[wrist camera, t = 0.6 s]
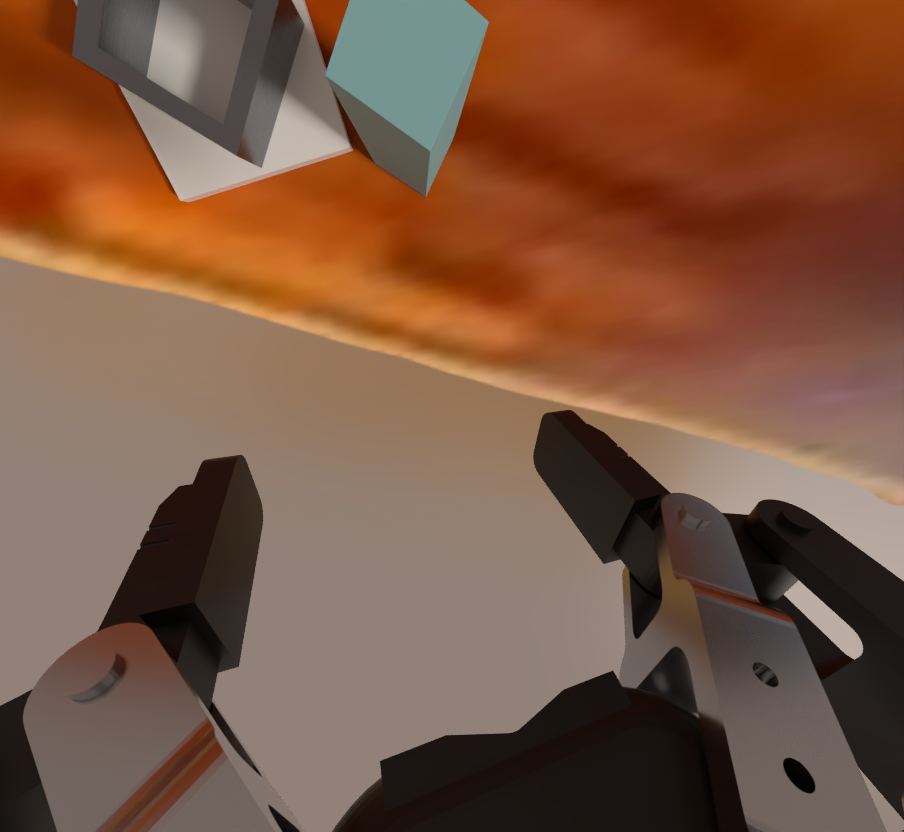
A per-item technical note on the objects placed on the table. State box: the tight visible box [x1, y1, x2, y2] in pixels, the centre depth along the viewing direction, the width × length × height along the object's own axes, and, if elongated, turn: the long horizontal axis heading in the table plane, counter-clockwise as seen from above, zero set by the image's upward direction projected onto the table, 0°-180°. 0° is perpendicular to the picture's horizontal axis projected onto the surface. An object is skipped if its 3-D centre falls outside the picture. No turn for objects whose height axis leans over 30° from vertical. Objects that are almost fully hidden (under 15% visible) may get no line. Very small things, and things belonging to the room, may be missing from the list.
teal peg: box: [325, 0, 489, 197], centre depth 18 cm, size 4×4×14 cm
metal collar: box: [72, 0, 305, 168], centre depth 19 cm, size 8×8×4 cm
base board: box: [74, 0, 353, 202], centre depth 21 cm, size 12×12×1 cm
